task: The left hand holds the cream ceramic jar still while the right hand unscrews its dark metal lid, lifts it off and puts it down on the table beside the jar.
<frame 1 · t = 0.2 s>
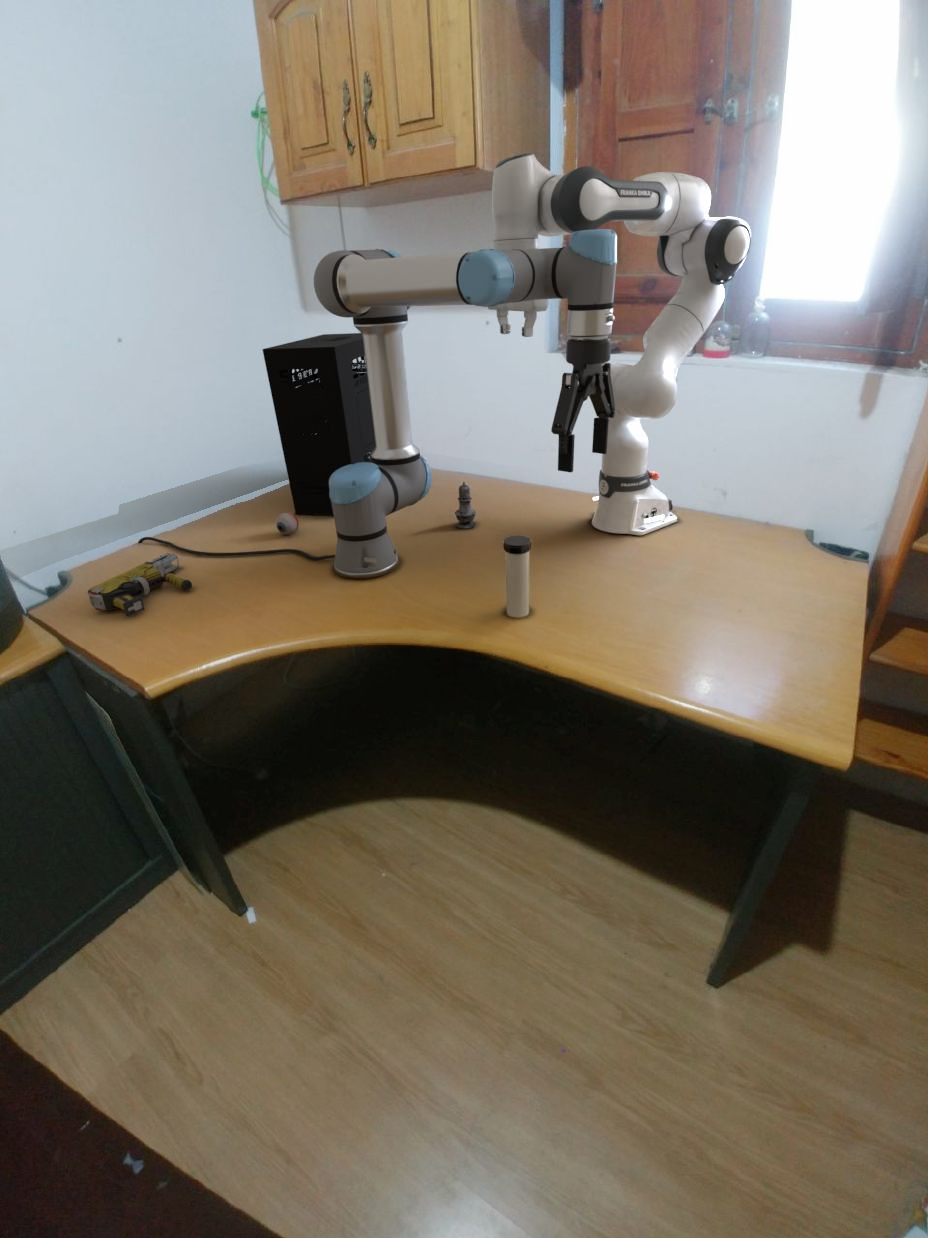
left hand: (583, 461, 113), 28 cm above the table, tool pointing down, fingers open, 13 cm apart
right hand: (516, 335, 125), 48 cm above the table, tool pointing down, fingers open, 8 cm apart
lid: (517, 541, 114), point 15 cm above the table, screwed on, not yet turned
black computer case: (351, 494, 193), on the table
grey chess piece: (466, 525, 164), on the table
jar: (517, 612, 122), on the table
toy gun: (157, 592, 138), on the table
eyeball: (289, 534, 165), on the table
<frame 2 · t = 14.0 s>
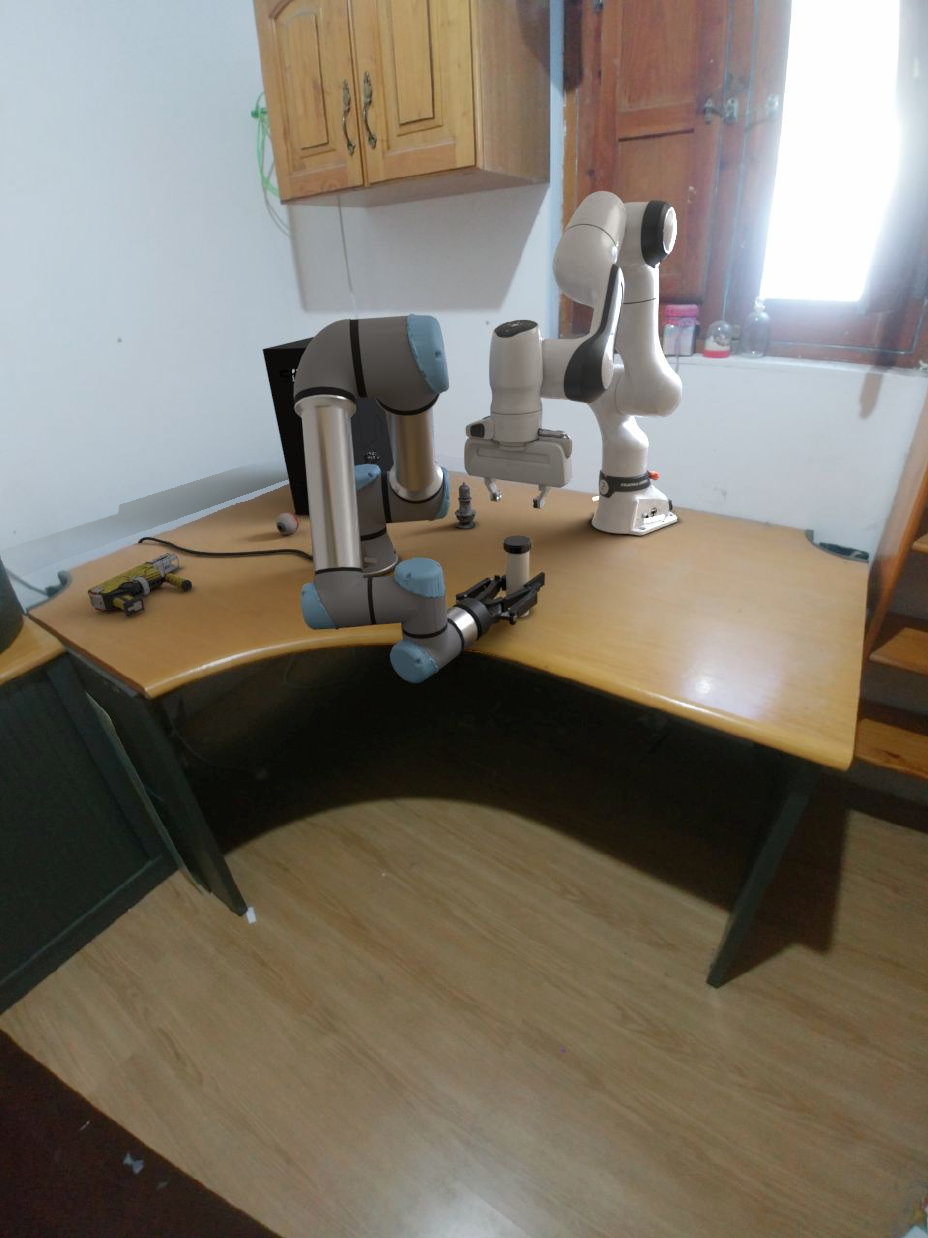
left hand: (531, 575, 122), 6 cm above the table, tool horizontal, fingers closed on jar, 5 cm apart
right hand: (517, 504, 110), 23 cm above the table, tool pointing down, fingers open, 7 cm apart
jar: (517, 612, 122), on the table, touching left hand
everything else where it was.
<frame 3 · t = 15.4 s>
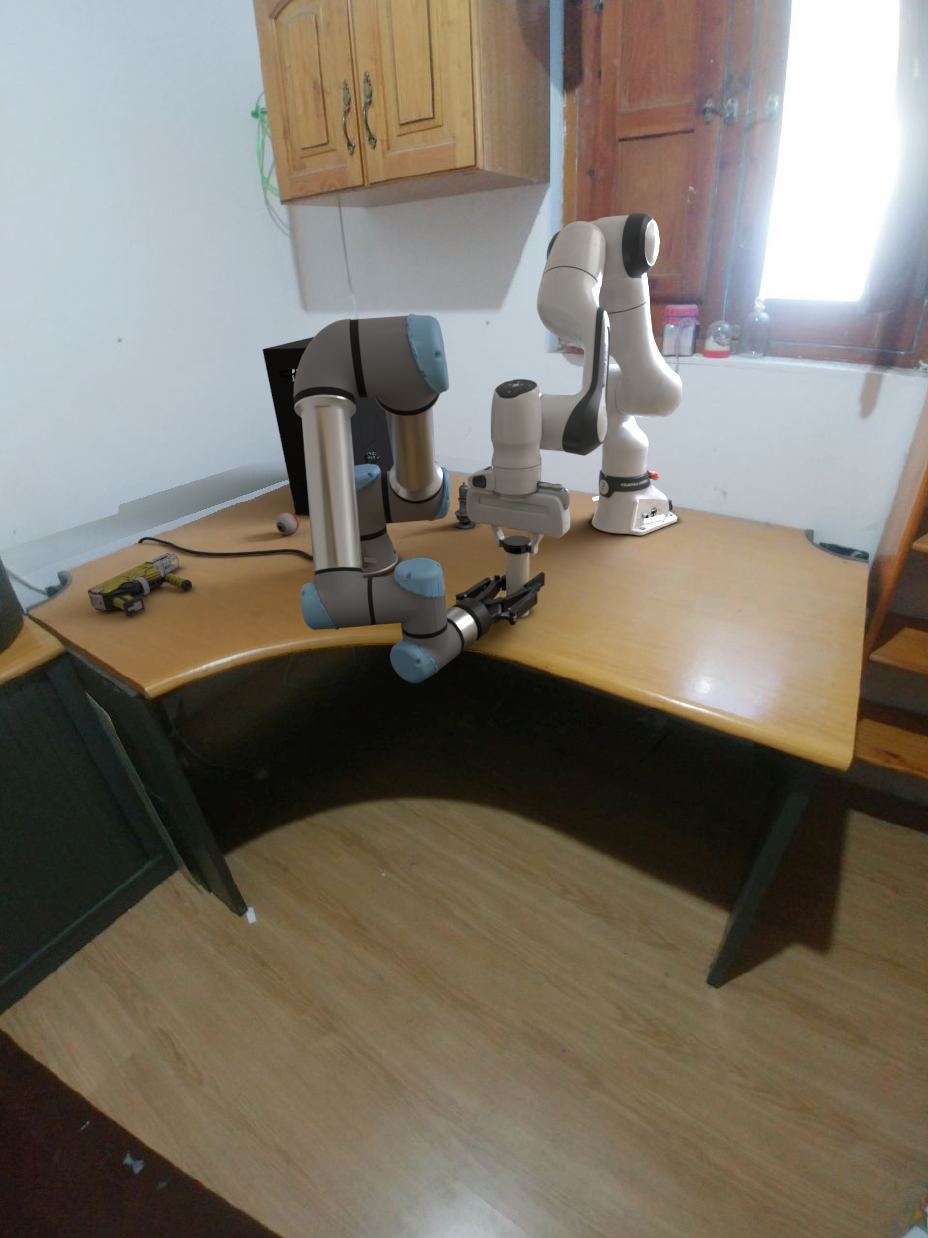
left hand: (531, 575, 122), 6 cm above the table, tool horizontal, fingers closed on jar, 5 cm apart
right hand: (517, 549, 115), 14 cm above the table, tool pointing down, fingers closed on lid, 5 cm apart
lid: (517, 541, 114), point 15 cm above the table, screwed on, not yet turned, touching right hand
jar: (517, 612, 122), on the table, touching left hand
everything else where it was.
when the right hand's fingers open (14 cm above the table, at t = 16.7 s): lid stays where it is, point 15 cm above the table.
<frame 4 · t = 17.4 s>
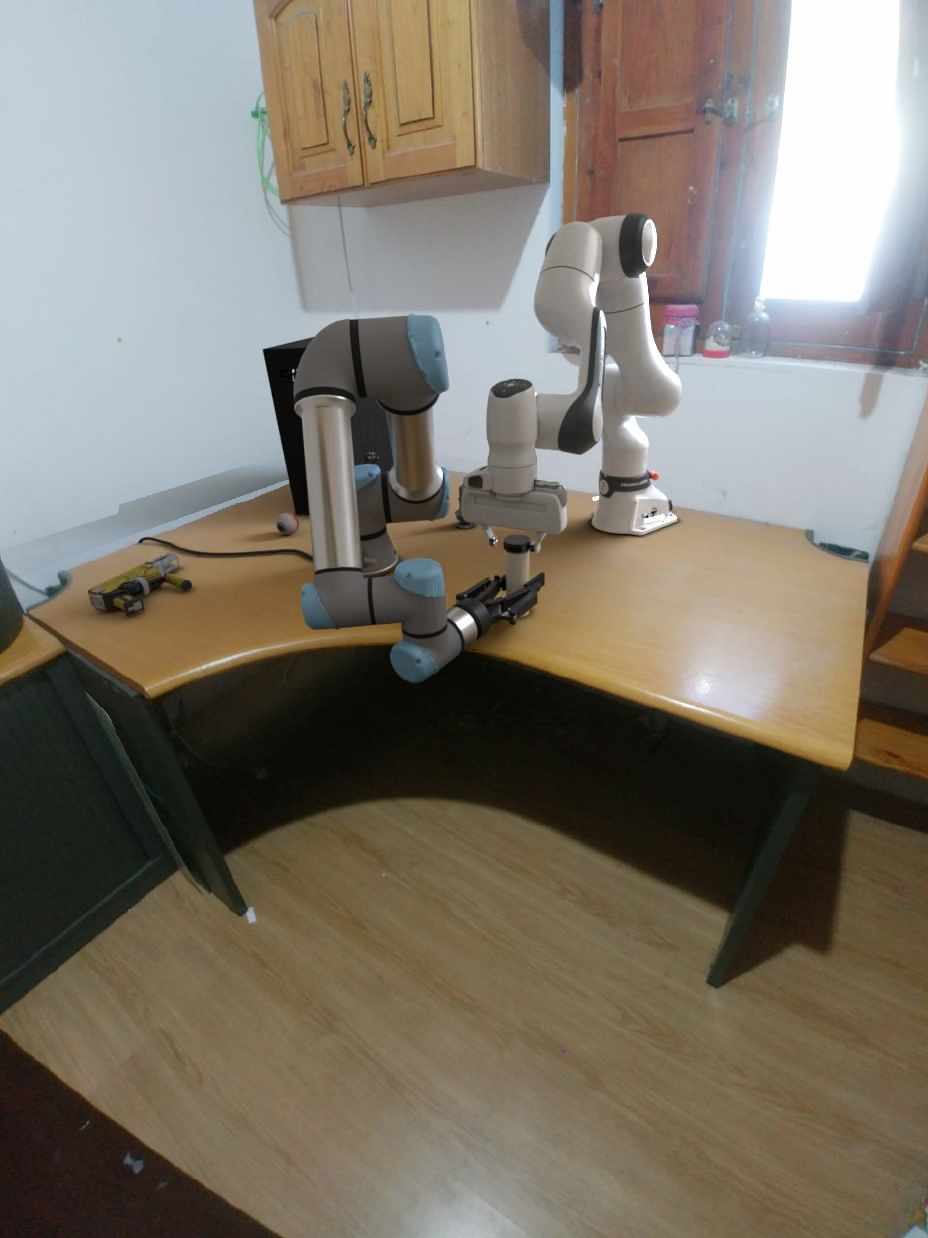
left hand: (531, 575, 122), 6 cm above the table, tool horizontal, fingers closed on jar, 5 cm apart
right hand: (513, 548, 115), 14 cm above the table, tool pointing down, fingers open, 7 cm apart
lid: (517, 540, 114), point 15 cm above the table, turned 68° so far, risen 0.2 cm, still on its thread
jar: (517, 612, 122), on the table, touching left hand
everything else where it was.
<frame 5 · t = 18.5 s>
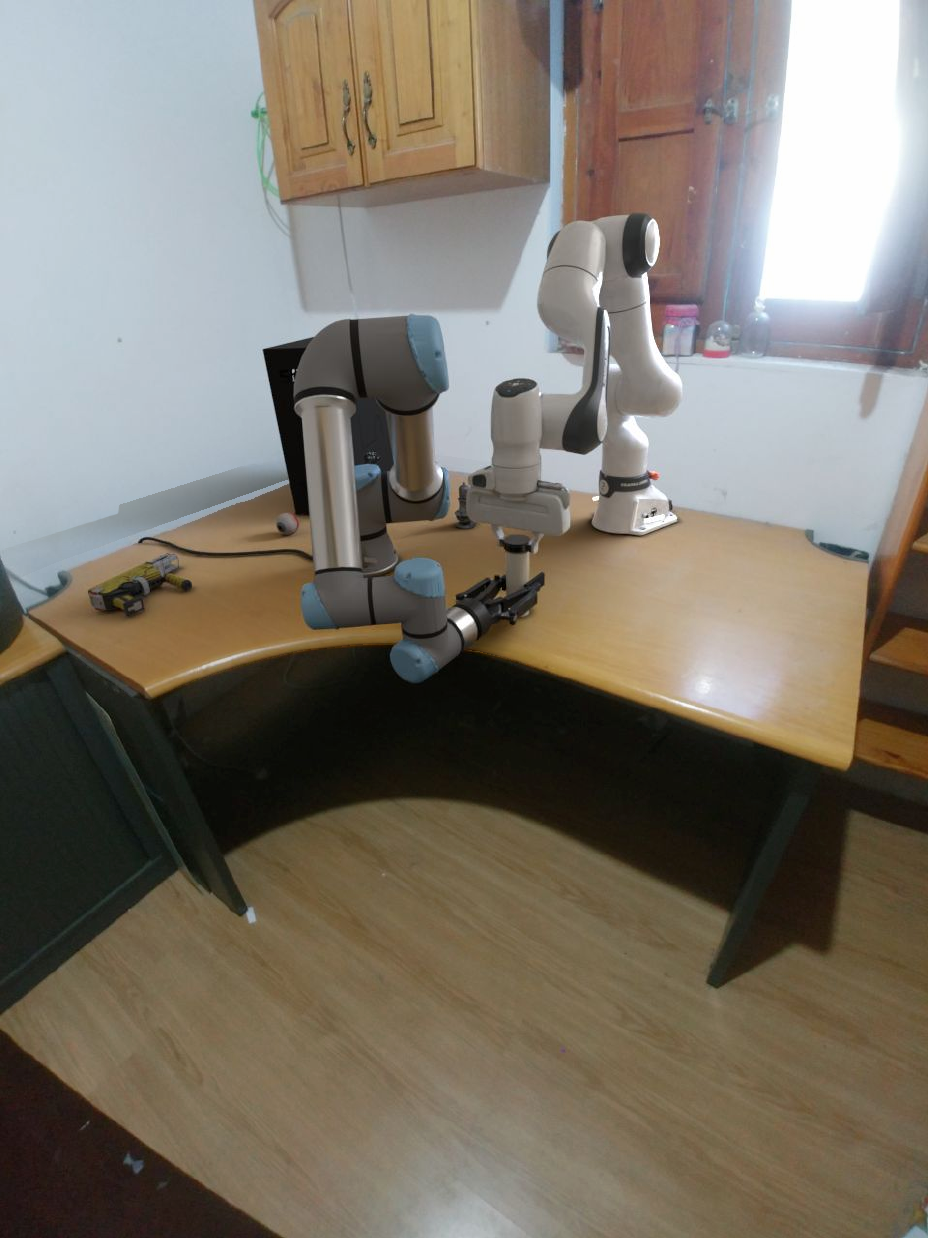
left hand: (531, 575, 122), 6 cm above the table, tool horizontal, fingers closed on jar, 5 cm apart
right hand: (517, 548, 115), 14 cm above the table, tool pointing down, fingers closed on lid, 5 cm apart
lid: (517, 540, 114), point 15 cm above the table, turned 68° so far, risen 0.2 cm, still on its thread, touching right hand
jar: (517, 612, 122), on the table, touching left hand
everything else where it was.
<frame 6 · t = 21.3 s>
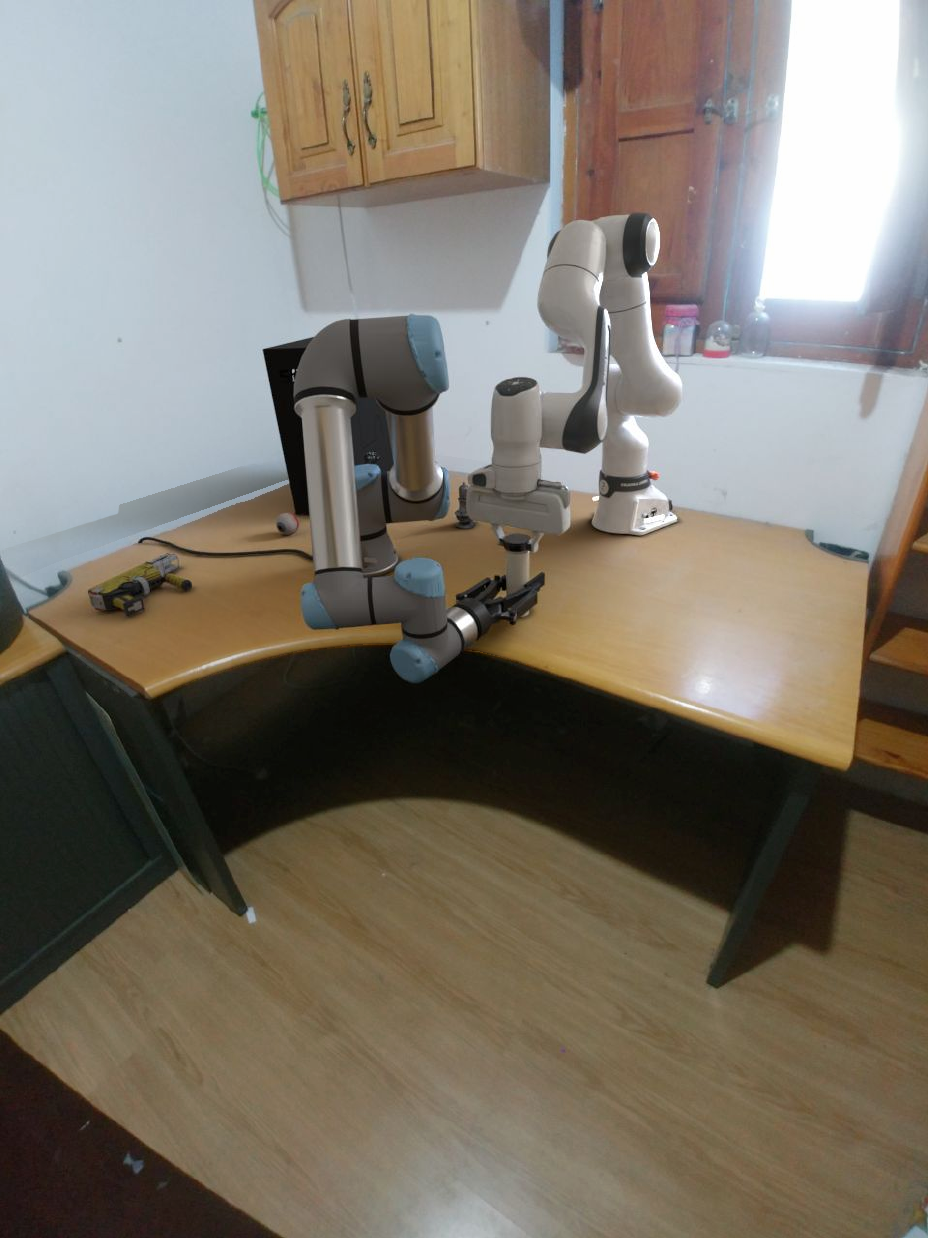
left hand: (531, 575, 122), 6 cm above the table, tool horizontal, fingers closed on jar, 5 cm apart
right hand: (517, 547, 115), 14 cm above the table, tool pointing down, fingers closed on lid, 5 cm apart
lid: (517, 540, 114), point 16 cm above the table, turned 135° so far, risen 0.4 cm, still on its thread, touching right hand
jar: (517, 612, 122), on the table, touching left hand
everything else where it was.
when the right hand's fingers open (2 cm above the table, at t = 28.1 s): lid drops 2 cm, point 1 cm above the table.
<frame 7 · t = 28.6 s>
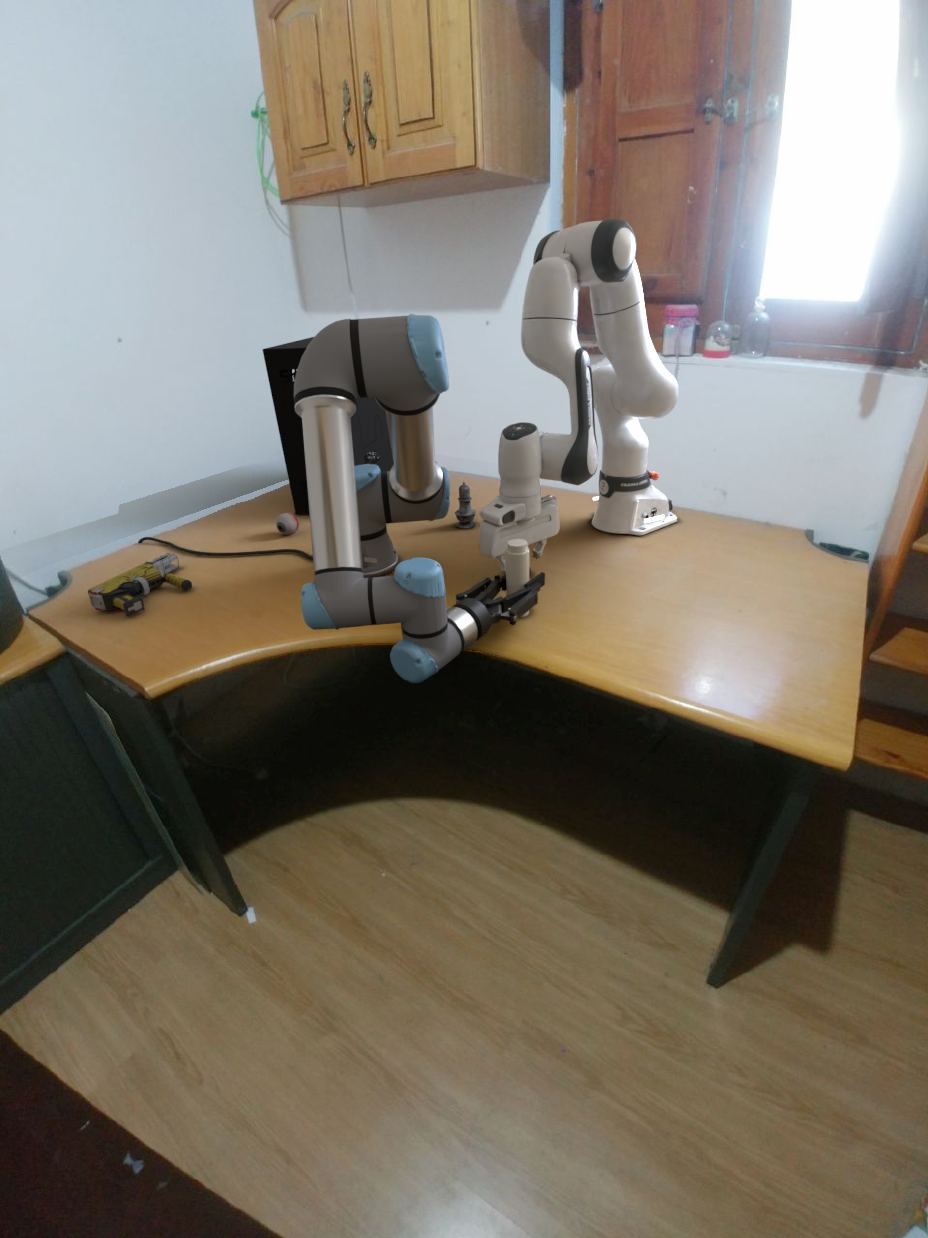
left hand: (531, 575, 122), 6 cm above the table, tool horizontal, fingers closed on jar, 5 cm apart
right hand: (521, 563, 134), 3 cm above the table, tool pointing down, fingers open, 8 cm apart
lid: (518, 569, 135), point 1 cm above the table, off its thread
jar: (517, 612, 122), on the table, touching left hand
everything else where it was.
when the left hand's fingers open (6 cm above the table, at t = 29.0 s): jar stays where it is, on the table.
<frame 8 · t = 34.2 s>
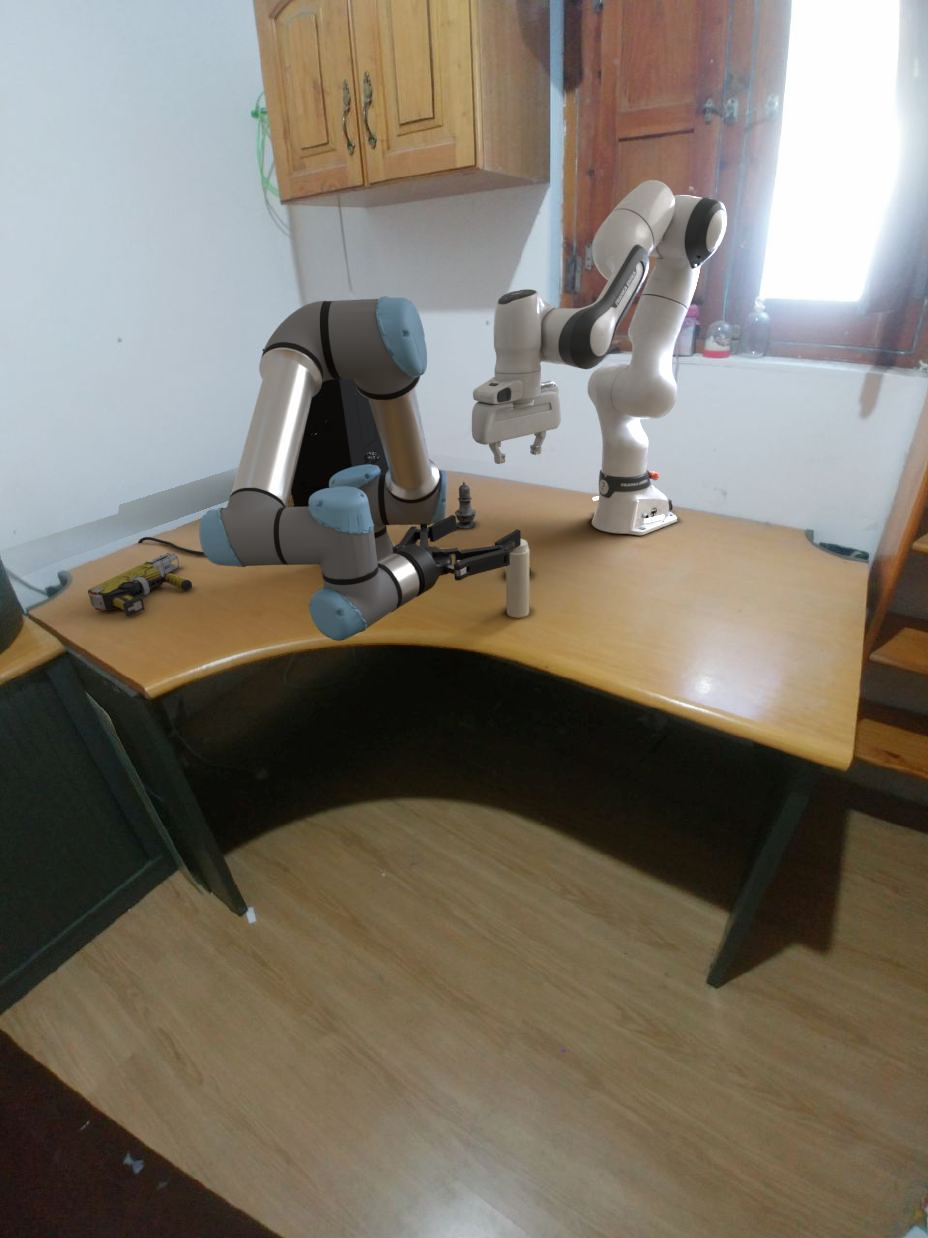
left hand: (485, 529, 104), 21 cm above the table, tool horizontal, fingers open, 13 cm apart
right hand: (518, 458, 123), 27 cm above the table, tool pointing down, fingers open, 8 cm apart
jar: (517, 612, 122), on the table
everything else where it was.
at the end: lid came off its thread; lid point 1.4 cm above the table; the left hand is holding nothing; the right hand is holding nothing; jar tilted 0°; jar moved 0.0 cm from its start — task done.
